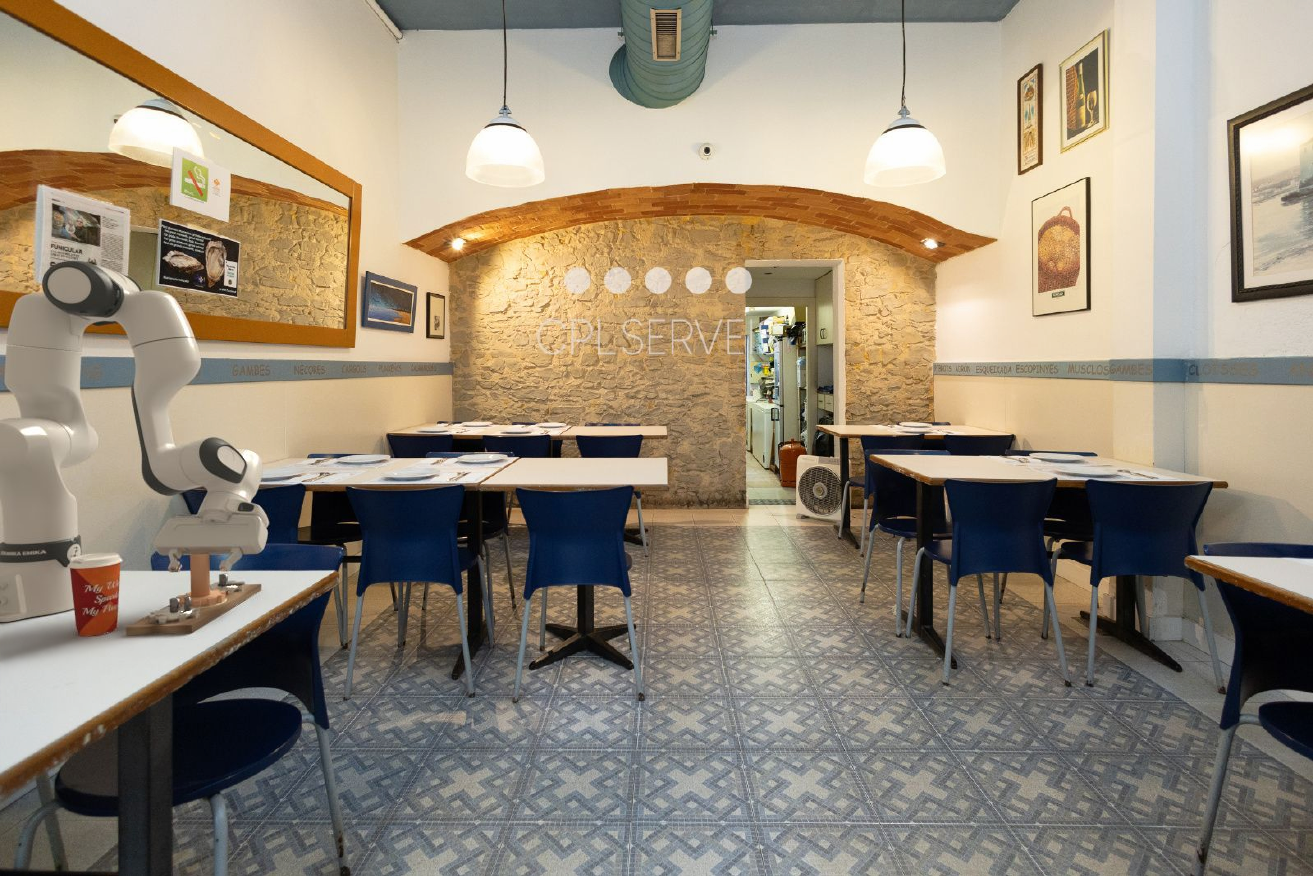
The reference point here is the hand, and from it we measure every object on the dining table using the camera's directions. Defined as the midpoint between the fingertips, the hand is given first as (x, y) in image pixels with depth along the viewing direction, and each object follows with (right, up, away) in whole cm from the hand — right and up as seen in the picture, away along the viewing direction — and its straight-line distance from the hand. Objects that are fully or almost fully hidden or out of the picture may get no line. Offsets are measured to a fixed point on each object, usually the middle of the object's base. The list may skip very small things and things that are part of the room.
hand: (198, 570), depth 132 cm
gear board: (0, -8, +1) cm, 8 cm away
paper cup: (-10, -9, -12) cm, 18 cm away
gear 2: (-1, -6, +10) cm, 12 cm away
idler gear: (0, -7, +1) cm, 7 cm away
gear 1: (+1, -7, -8) cm, 11 cm away
